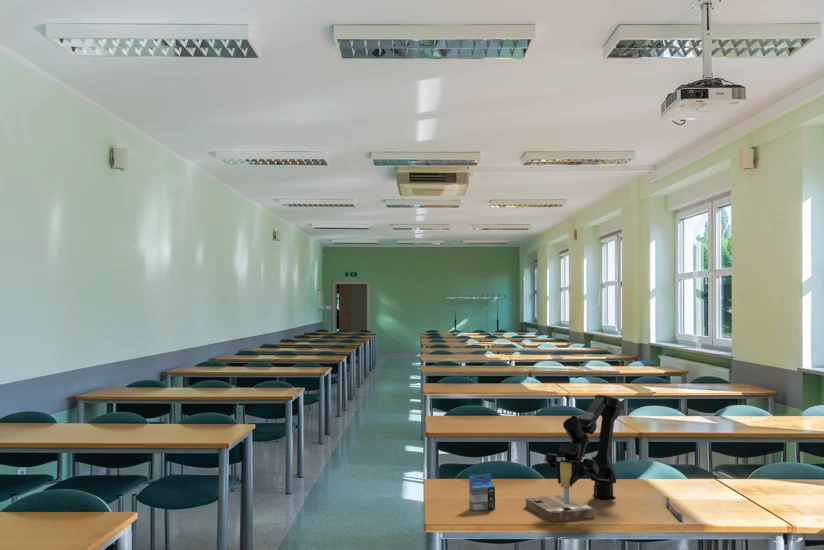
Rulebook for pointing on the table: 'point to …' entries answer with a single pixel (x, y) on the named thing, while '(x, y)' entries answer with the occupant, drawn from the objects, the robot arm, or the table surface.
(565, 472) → the tan handled tool
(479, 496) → the ink cartridge box
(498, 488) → the table surface
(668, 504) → the combination wrench
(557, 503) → the subfloor panel
